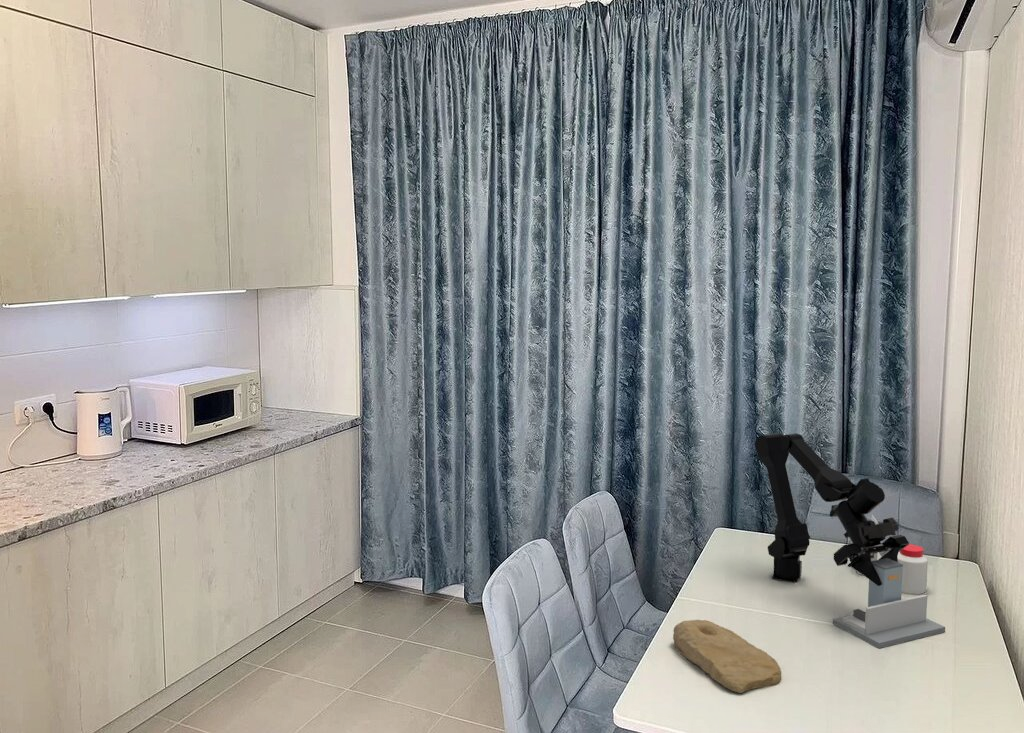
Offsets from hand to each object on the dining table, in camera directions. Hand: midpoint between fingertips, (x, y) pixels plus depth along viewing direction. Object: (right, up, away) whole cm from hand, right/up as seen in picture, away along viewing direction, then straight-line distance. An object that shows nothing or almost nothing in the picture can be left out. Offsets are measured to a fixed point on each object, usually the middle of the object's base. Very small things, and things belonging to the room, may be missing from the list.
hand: (890, 583), depth 196 cm
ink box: (+10, -6, +38) cm, 40 cm away
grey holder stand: (0, -11, +1) cm, 11 cm away
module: (0, -7, +2) cm, 7 cm away
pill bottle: (+16, -8, +24) cm, 30 cm away
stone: (-42, -14, -15) cm, 47 cm away
